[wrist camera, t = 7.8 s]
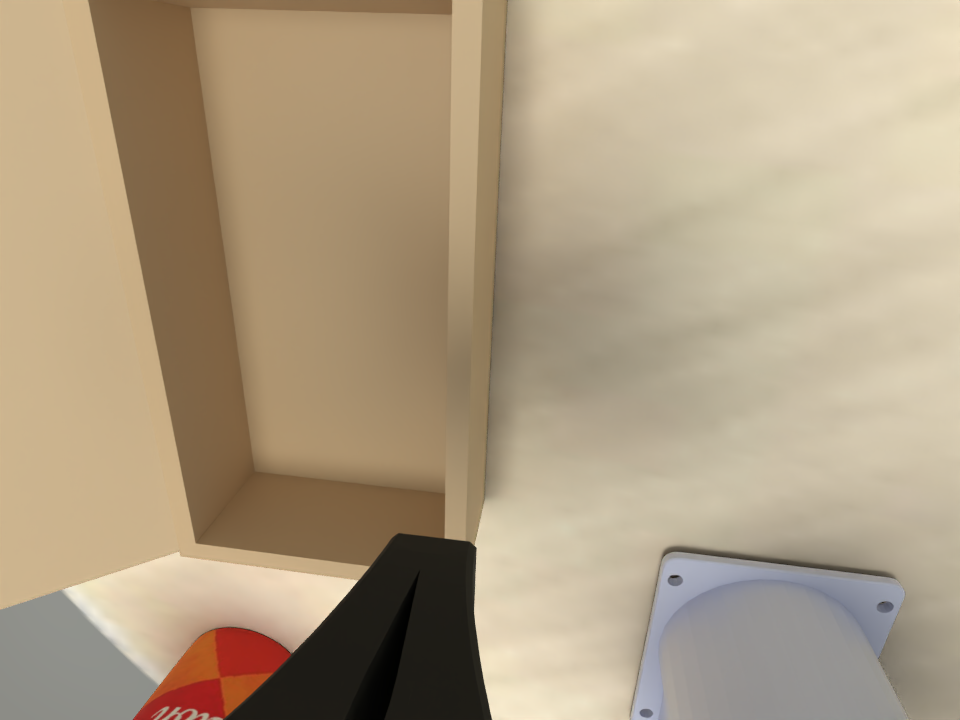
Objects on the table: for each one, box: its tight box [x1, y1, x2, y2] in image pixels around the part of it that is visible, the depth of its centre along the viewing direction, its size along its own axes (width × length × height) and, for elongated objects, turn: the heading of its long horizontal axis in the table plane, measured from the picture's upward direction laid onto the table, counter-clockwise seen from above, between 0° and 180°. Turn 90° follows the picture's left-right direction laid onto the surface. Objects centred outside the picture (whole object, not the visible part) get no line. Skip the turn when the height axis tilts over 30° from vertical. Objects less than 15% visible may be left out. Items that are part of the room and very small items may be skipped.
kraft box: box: [62, 0, 507, 580], centre depth 18 cm, size 16×9×4 cm, turn 178°
